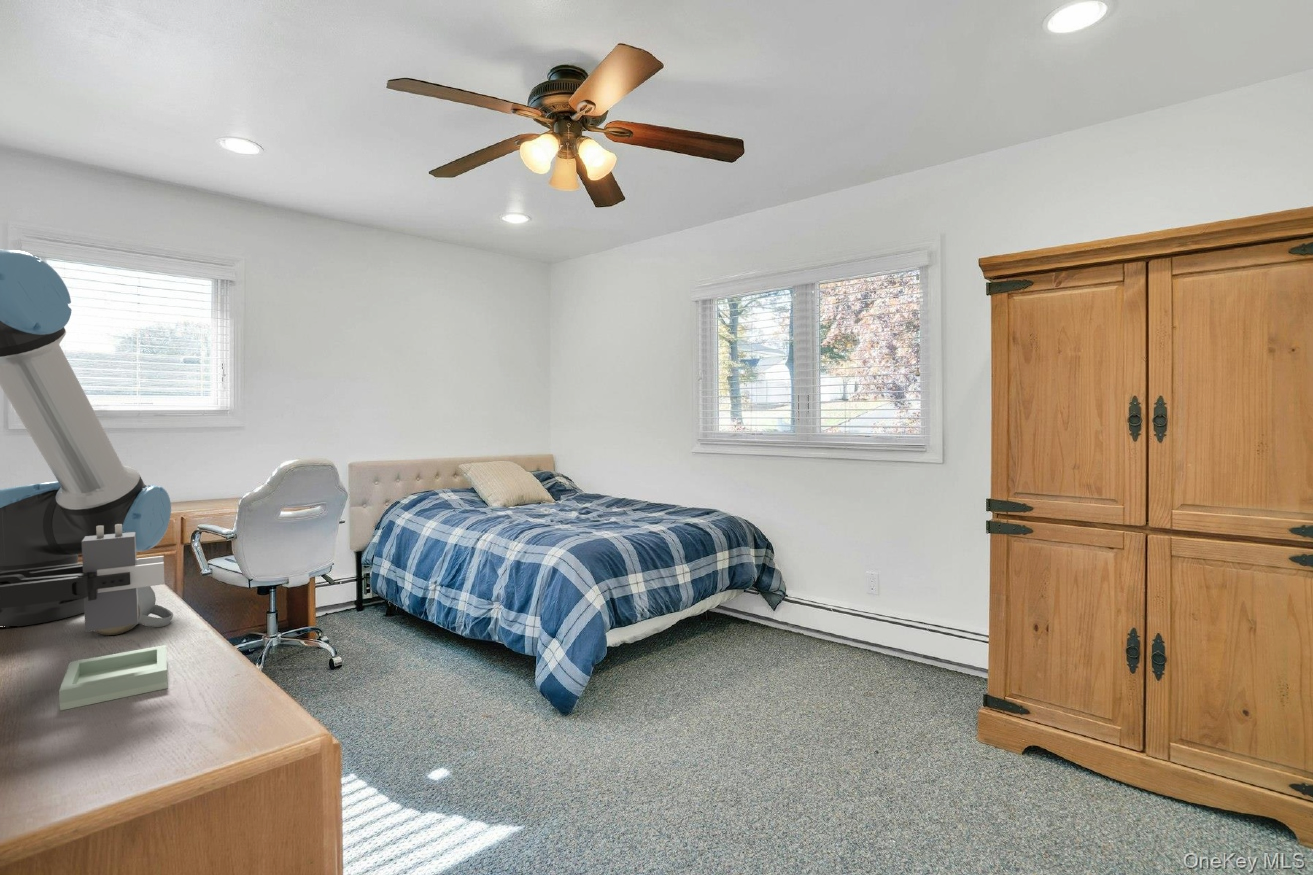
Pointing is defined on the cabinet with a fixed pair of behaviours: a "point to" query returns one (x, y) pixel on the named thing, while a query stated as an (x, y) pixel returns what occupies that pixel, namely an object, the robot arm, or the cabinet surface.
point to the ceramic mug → (144, 613)
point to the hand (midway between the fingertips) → (163, 569)
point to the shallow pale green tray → (114, 677)
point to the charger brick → (103, 555)
